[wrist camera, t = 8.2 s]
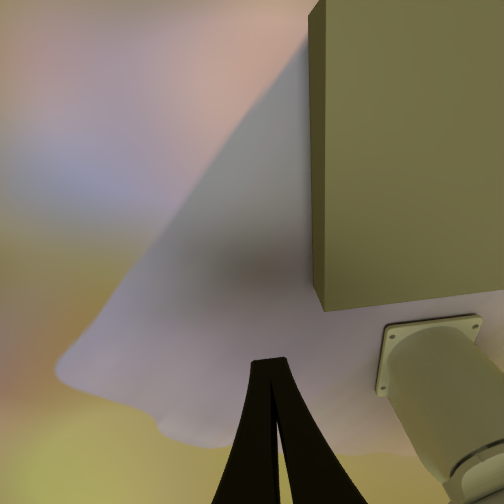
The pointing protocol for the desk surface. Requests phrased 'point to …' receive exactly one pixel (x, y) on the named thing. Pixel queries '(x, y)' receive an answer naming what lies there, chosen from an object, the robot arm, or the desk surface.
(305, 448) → the robot arm
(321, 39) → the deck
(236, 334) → the desk surface
